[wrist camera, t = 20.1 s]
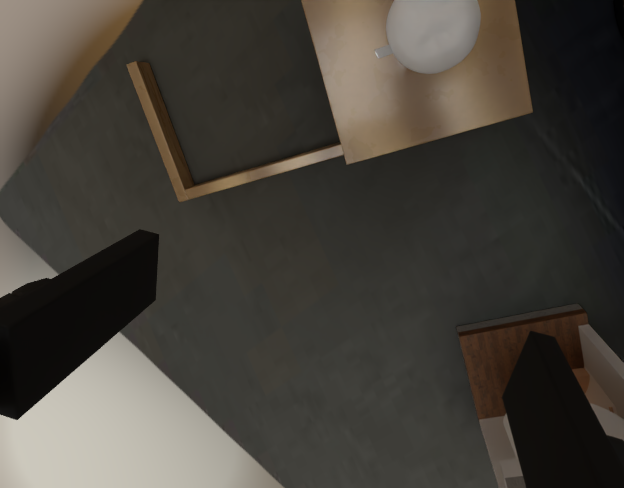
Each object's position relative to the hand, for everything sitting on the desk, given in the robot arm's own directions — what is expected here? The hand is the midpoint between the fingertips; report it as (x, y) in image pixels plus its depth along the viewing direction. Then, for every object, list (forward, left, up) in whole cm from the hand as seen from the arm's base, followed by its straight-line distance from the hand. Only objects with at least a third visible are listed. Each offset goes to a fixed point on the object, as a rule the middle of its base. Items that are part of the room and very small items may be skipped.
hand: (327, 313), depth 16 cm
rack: (+2, -9, -28) cm, 30 cm away
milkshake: (-6, -9, -20) cm, 22 cm away
